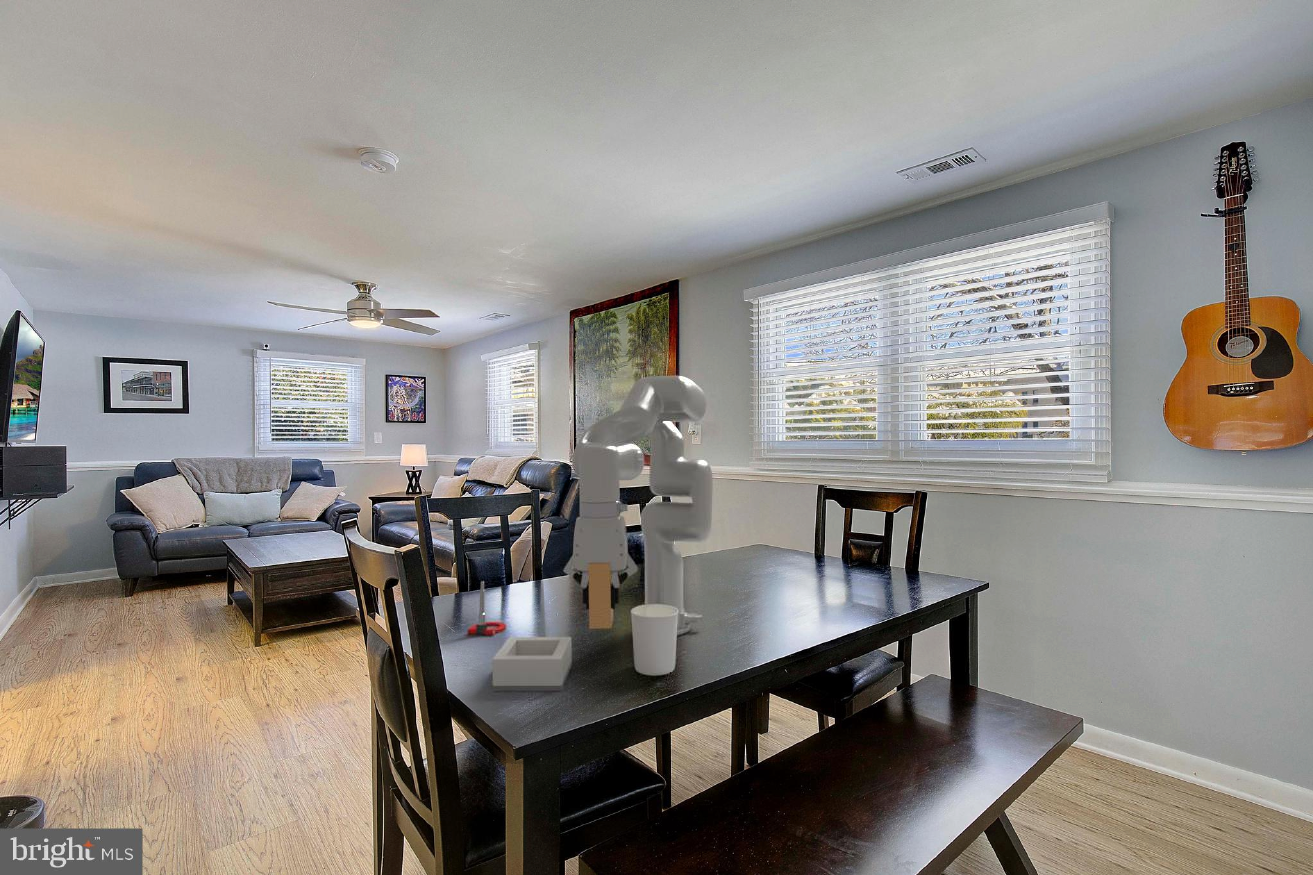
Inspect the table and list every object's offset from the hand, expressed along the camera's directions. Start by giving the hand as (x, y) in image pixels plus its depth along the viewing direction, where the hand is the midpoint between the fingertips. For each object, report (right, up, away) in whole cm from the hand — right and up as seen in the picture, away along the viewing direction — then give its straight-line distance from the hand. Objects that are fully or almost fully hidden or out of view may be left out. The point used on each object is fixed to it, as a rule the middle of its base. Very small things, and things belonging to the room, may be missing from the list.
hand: (601, 606), depth 117 cm
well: (-14, -16, +7) cm, 22 cm away
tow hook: (-32, -16, +38) cm, 52 cm away
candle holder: (+10, -16, +11) cm, 22 cm away
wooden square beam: (0, -3, 0) cm, 3 cm away
